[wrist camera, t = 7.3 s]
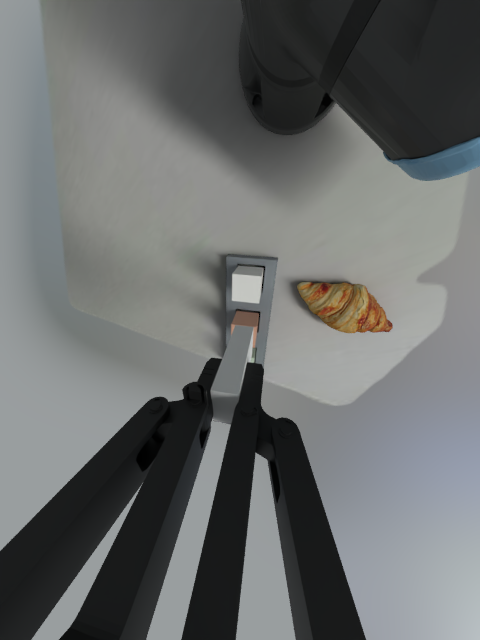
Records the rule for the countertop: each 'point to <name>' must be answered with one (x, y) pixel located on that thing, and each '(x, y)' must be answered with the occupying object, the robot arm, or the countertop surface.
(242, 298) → the key white
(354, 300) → the croissant
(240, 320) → the key terracotta
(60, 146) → the countertop surface
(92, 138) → the countertop surface
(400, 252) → the countertop surface
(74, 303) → the countertop surface
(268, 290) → the grey slotted tray
